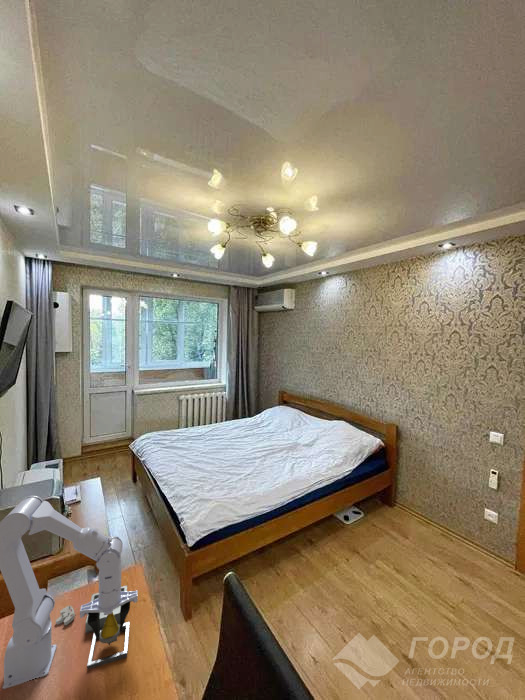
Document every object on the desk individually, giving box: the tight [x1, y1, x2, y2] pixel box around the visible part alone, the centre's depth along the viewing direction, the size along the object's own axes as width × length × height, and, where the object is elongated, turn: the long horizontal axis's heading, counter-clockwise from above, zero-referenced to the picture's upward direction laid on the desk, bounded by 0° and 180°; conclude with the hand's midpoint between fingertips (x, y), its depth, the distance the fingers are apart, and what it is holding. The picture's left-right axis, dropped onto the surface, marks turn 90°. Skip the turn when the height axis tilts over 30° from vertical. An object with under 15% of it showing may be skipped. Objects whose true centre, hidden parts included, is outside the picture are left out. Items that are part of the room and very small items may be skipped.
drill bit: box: [98, 612, 121, 646], centre depth 83 cm, size 5×5×10 cm
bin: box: [84, 584, 128, 634], centre depth 93 cm, size 11×11×4 cm
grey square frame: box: [86, 621, 130, 671], centre depth 83 cm, size 10×10×2 cm
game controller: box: [55, 605, 81, 626], centre depth 94 cm, size 6×12×3 cm, turn 155°
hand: (109, 632), depth 83 cm, fingers closed on drill bit, 5 cm apart
